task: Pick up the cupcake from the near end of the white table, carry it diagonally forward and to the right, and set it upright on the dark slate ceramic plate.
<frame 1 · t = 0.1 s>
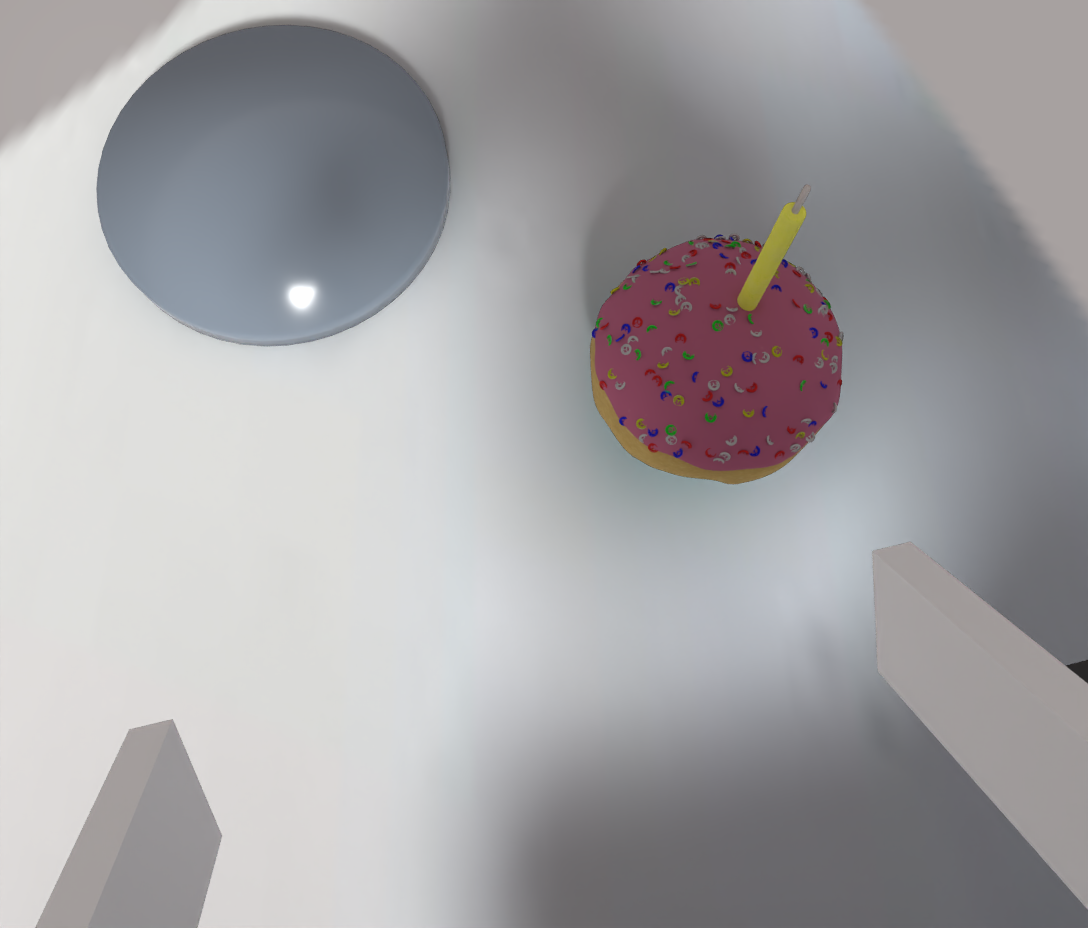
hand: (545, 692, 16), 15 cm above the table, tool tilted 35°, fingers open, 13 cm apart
cupcake: (693, 402, 34), on the table
slate plate: (281, 188, 36), on the table
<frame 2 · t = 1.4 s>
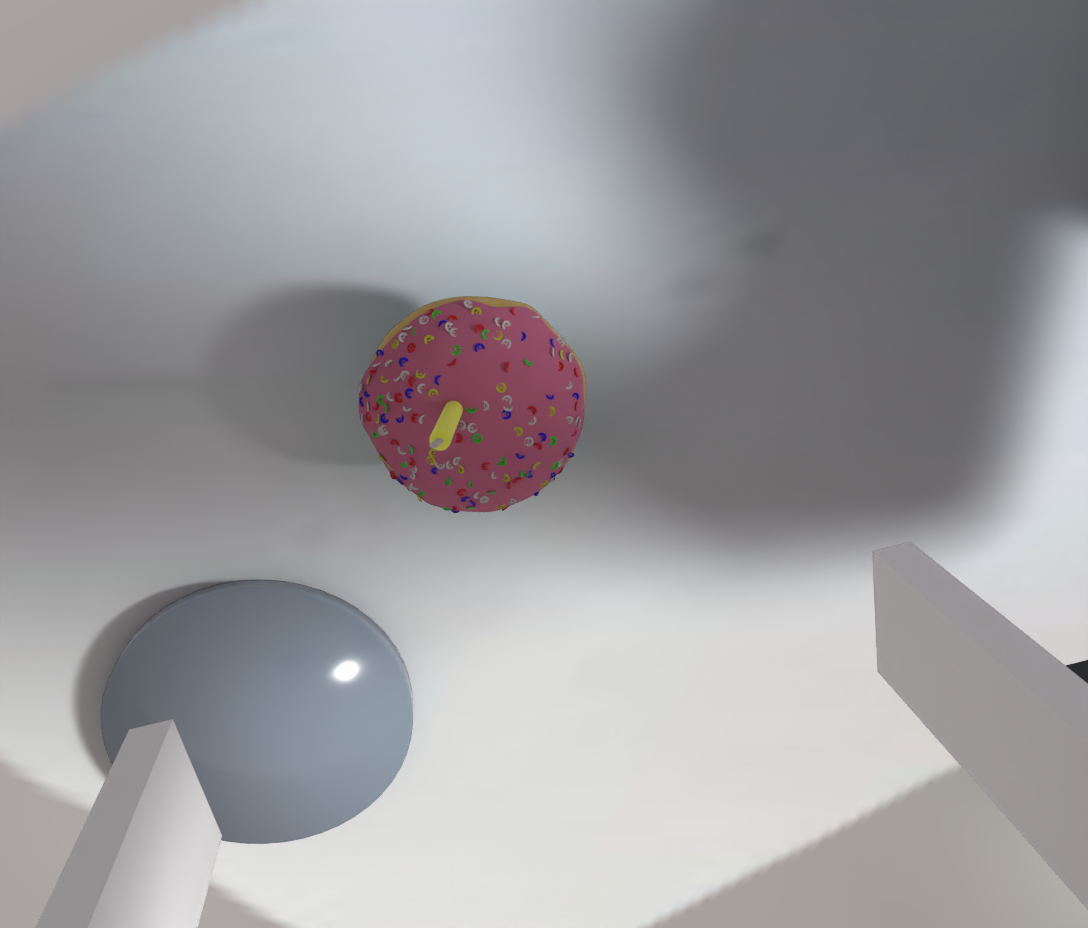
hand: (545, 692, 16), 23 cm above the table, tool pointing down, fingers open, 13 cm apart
cupcake: (469, 374, 37), on the table
slate plate: (265, 709, 41), on the table
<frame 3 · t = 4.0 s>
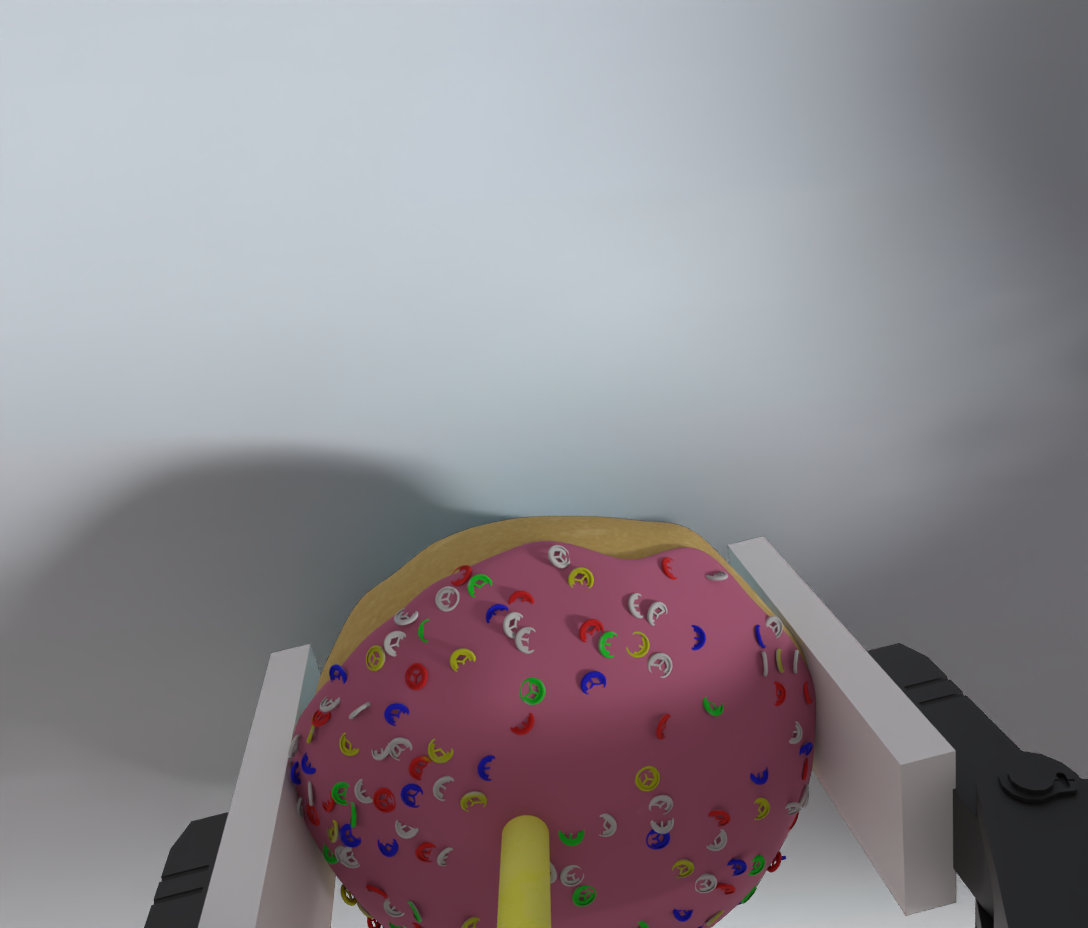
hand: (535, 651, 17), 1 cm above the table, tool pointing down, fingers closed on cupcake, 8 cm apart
cupcake: (529, 610, 19), on the table, touching gripper
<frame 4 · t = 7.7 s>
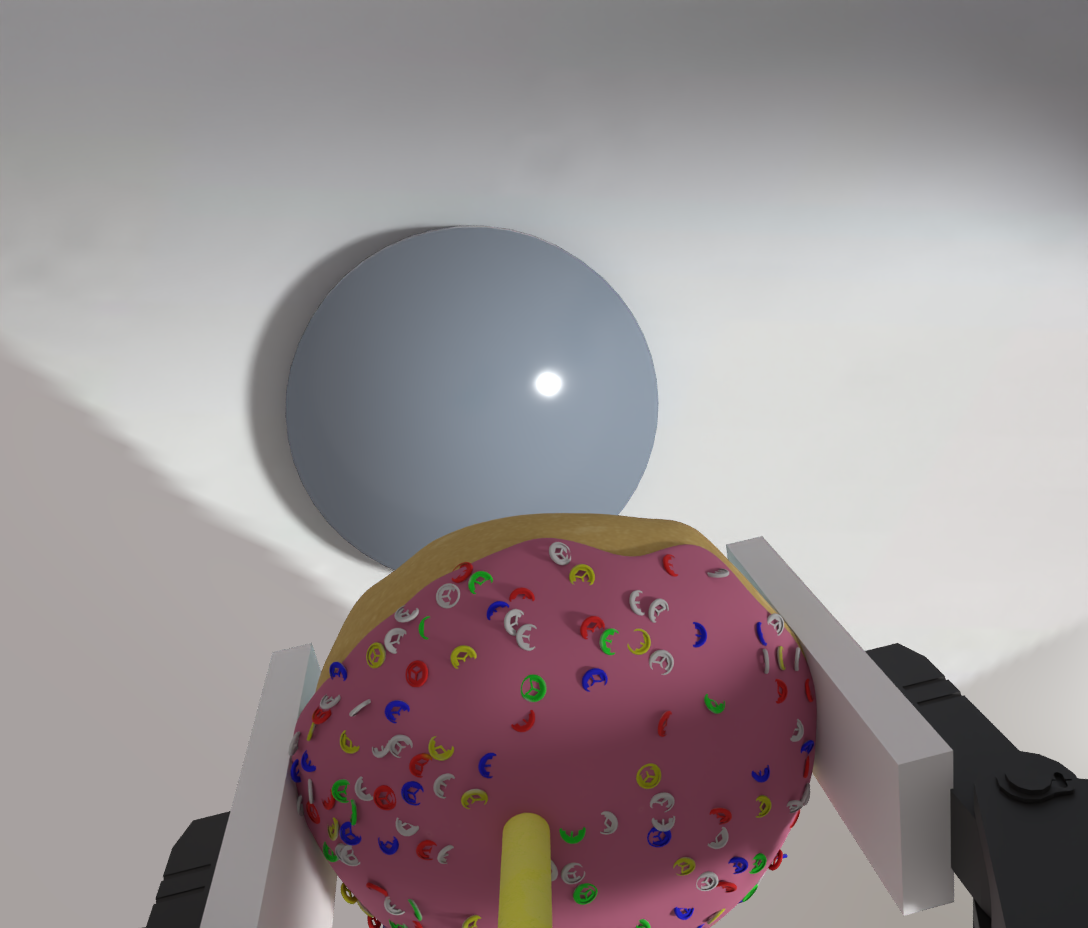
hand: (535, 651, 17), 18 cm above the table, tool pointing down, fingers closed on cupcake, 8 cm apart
cupcake: (529, 609, 19), point 16 cm above the table, touching gripper
slate plate: (475, 410, 34), on the table
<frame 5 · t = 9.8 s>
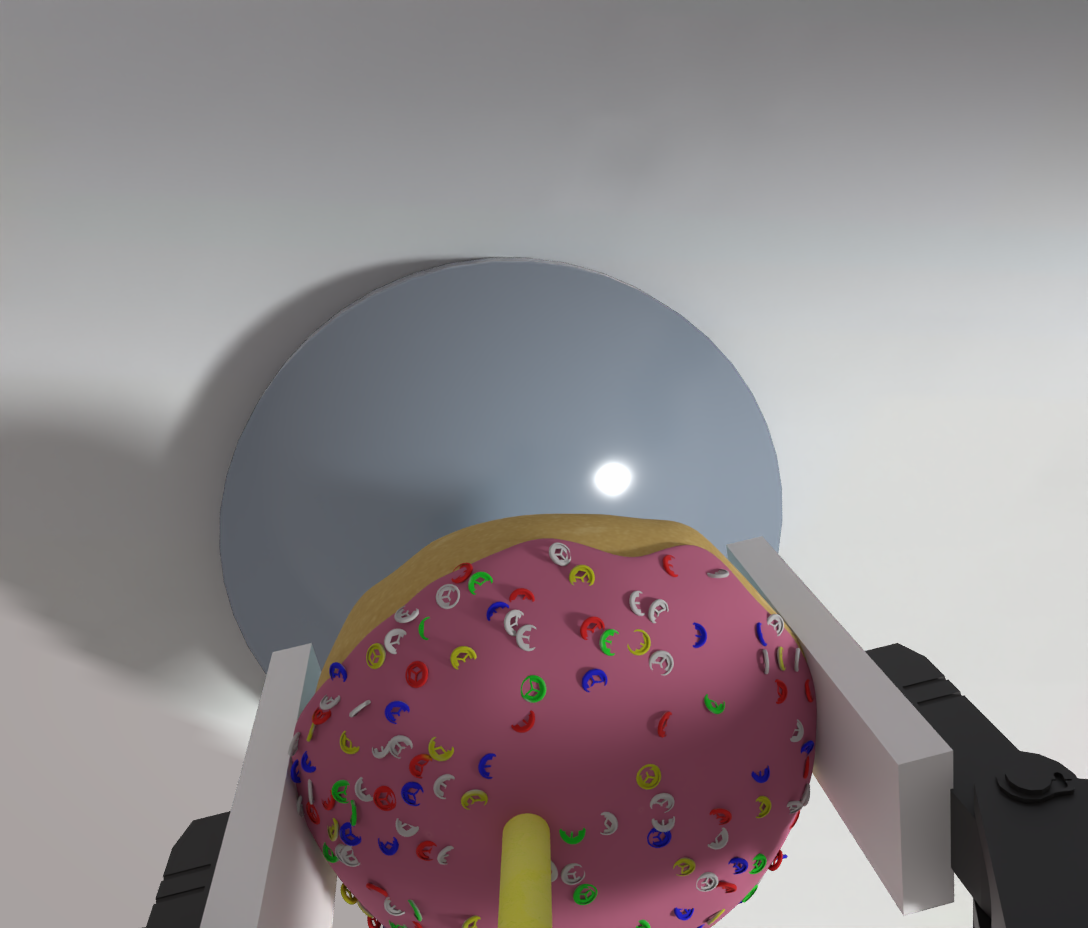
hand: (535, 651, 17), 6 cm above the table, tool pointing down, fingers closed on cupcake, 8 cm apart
cupcake: (529, 609, 19), point 4 cm above the table, touching gripper
slate plate: (508, 529, 23), on the table
when the fingers open (4 cm above the table, at t = 11.1 s): cupcake drops 1 cm, resting on slate plate.
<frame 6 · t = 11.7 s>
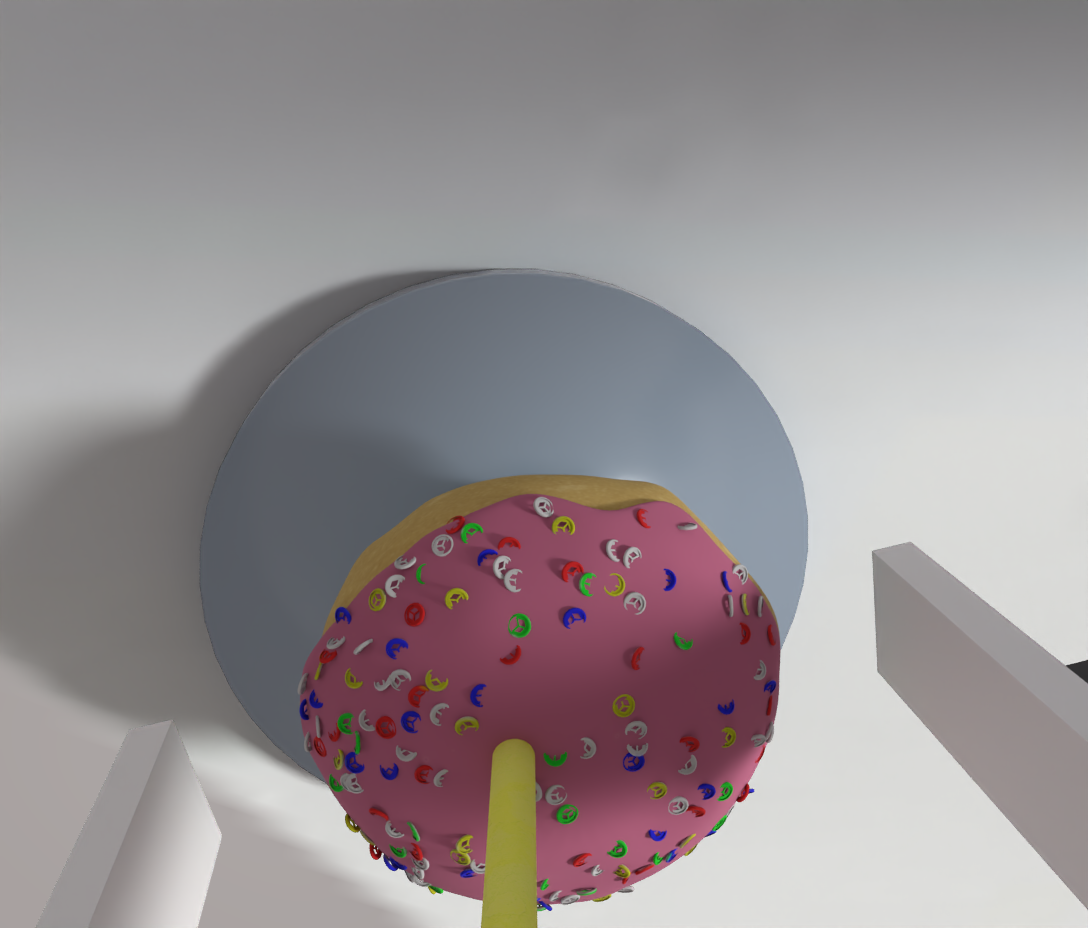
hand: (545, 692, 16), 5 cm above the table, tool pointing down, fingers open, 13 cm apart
cupcake: (518, 575, 20), point 1 cm above the table, touching slate plate
slate plate: (513, 560, 21), on the table
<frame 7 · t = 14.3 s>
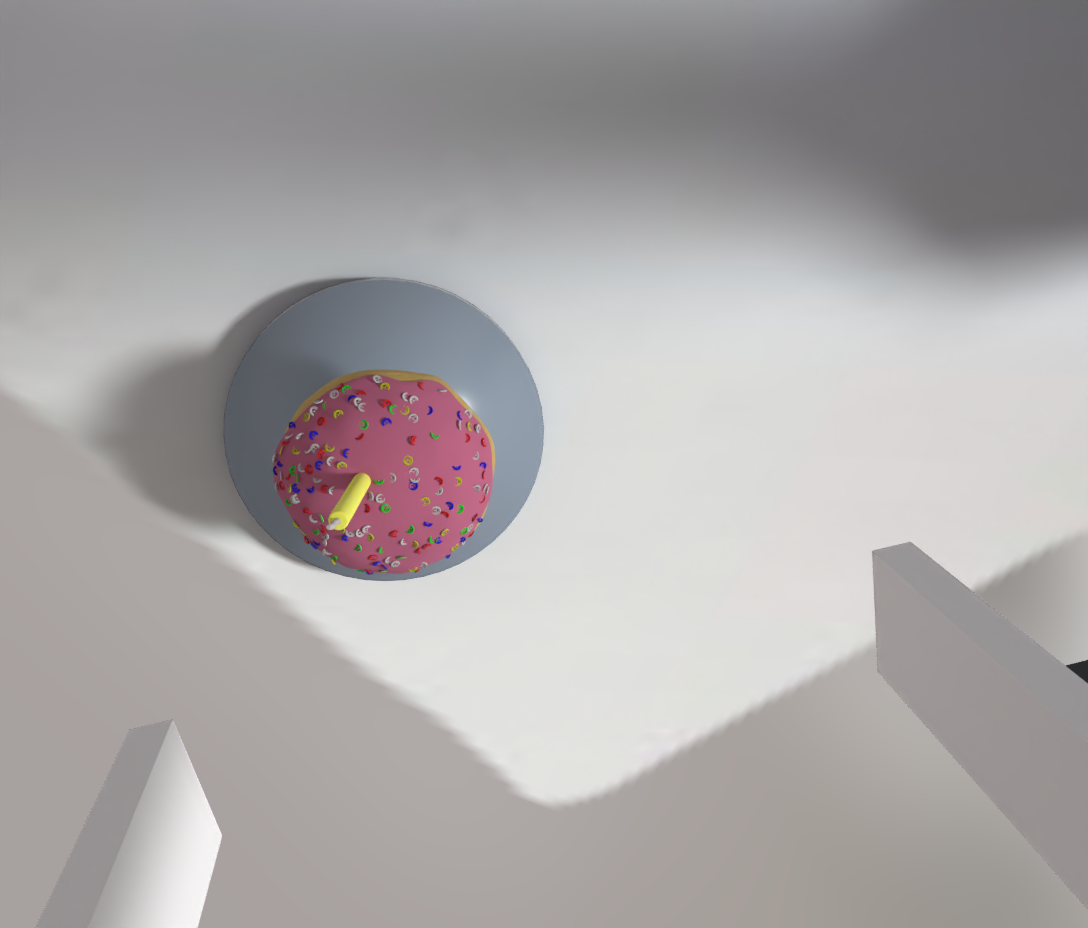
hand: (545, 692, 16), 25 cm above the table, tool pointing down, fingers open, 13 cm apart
cupcake: (389, 436, 39), point 1 cm above the table, touching slate plate
slate plate: (388, 432, 40), on the table
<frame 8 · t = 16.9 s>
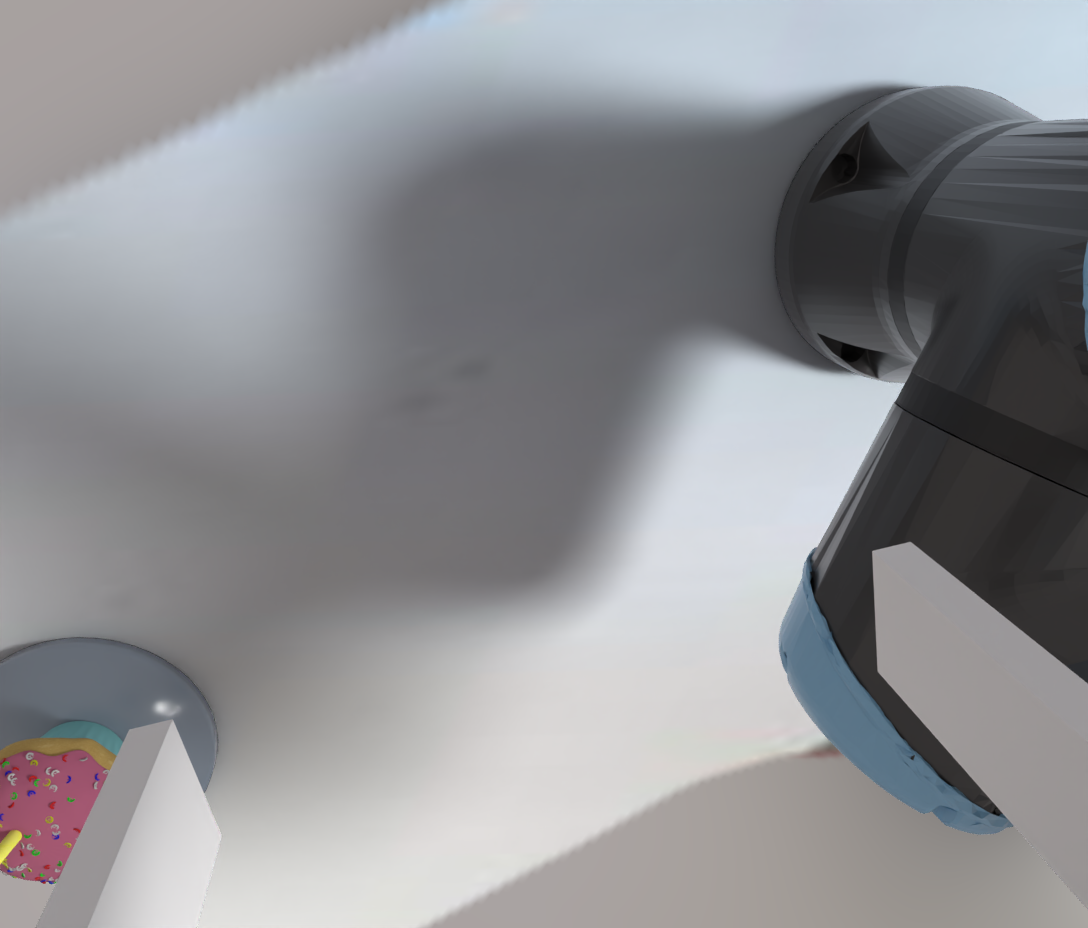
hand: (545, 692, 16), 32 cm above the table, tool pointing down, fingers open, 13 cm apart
cupcake: (86, 750, 50), point 1 cm above the table, touching slate plate
slate plate: (92, 741, 51), on the table
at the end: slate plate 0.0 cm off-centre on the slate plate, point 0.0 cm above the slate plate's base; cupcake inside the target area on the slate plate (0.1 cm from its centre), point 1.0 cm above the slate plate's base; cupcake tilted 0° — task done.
